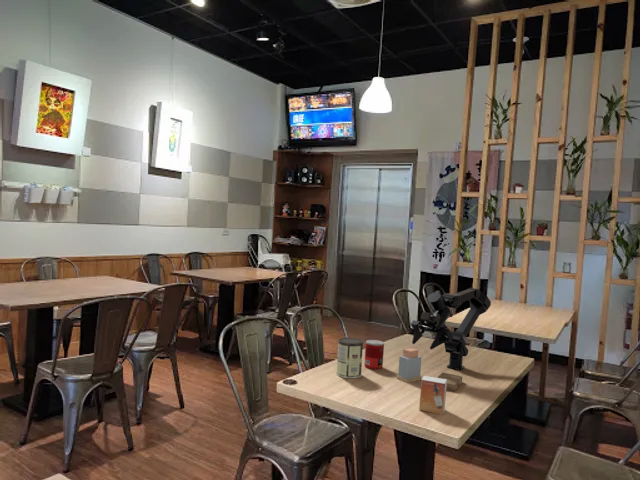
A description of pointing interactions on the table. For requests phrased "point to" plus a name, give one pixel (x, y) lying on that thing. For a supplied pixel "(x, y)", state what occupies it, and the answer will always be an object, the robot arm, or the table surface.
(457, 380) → the dock
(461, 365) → the robot arm
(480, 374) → the table surface
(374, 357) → the canned food
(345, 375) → the coffee can
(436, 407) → the small box
